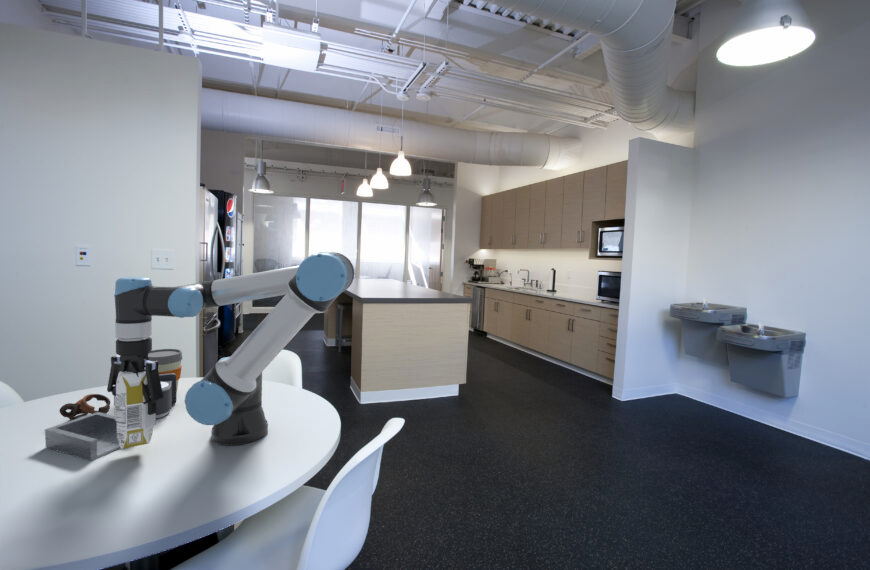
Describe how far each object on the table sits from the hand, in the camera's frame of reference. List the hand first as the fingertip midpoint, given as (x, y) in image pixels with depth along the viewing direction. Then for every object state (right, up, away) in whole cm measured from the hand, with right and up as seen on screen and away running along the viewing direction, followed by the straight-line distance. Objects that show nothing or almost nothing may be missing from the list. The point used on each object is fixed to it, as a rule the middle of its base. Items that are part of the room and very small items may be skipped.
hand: (135, 422), depth 108 cm
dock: (-14, -8, +6) cm, 17 cm away
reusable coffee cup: (-22, -4, +45) cm, 50 cm away
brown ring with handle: (-30, -6, +21) cm, 37 cm away
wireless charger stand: (-13, -6, +28) cm, 32 cm away
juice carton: (0, -5, 0) cm, 5 cm away
